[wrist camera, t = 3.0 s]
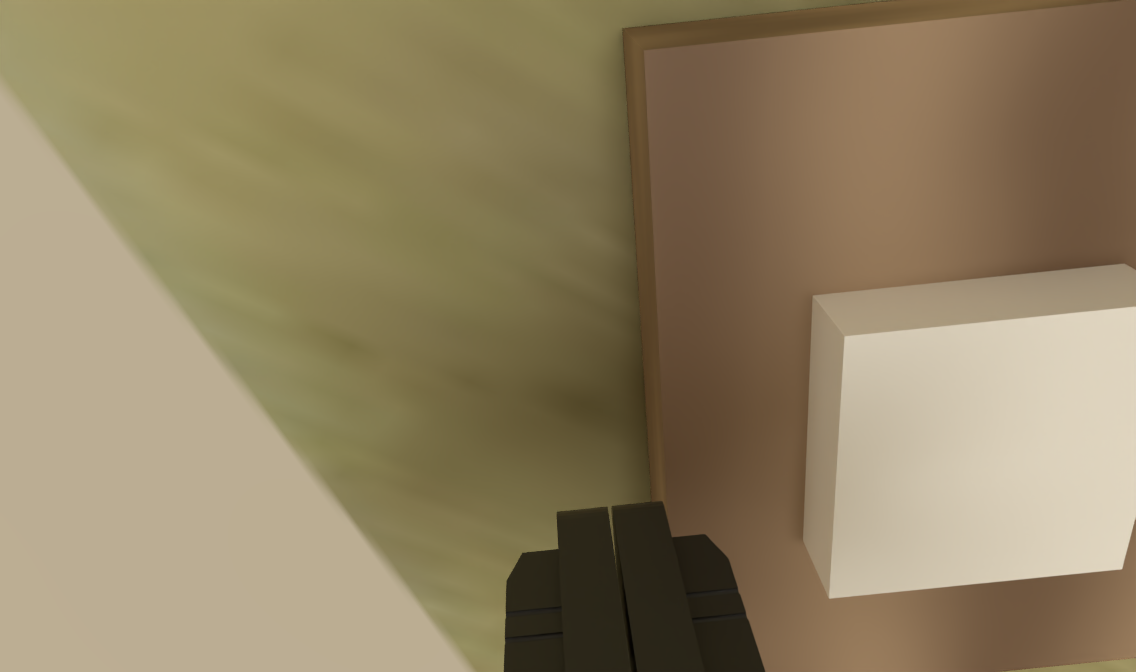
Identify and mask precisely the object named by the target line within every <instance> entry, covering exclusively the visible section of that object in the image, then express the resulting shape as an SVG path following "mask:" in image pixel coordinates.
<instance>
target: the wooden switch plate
mask: <svg viewBox="0 0 1136 672" xmlns="http://www.w3.org/2000/svg"><path fill="white" fill-rule="evenodd" d="M623 45H624V61H625V78H626V94H627V110H628V127H629V143H630V159H631V175H632V192H633V208H634V224H635V241H636V257H637V273H638V290H639V306H640V322H641V339H642V355H643V371H644V387H645V404H646V420H647V436H648V453H649V469H650V485H651V502H655V501H663V504H664V507H665V511H666V515H667V519H668V523H669V527H670V531H671V535H672V537H680V536H689V535H699V534H706V535H707V536H708V537H709V539H710V540H711V541H712V542H713V543H714V544H715V545H716V546H717V547H718V548H719V549H720V550H721V551H722V552H723V553H724V554H725V555H726V556H727V557H728V558H729V561H730V564H731V567H732V571H733V574H734V577H735V580H736V583H737V586H738V591H739V594H740V595H741V598H742V601H743V604H744V607H745V610H746V616H747V619H748V620H749V623H750V626H751V629H752V632H753V635H754V638H755V641H756V644H757V647H758V650H759V653H760V656H761V659H762V663H763V666H764V669H765V672H1000V671H1010V670H1020V669H1030V668H1040V667H1050V666H1060V665H1070V664H1080V663H1090V662H1100V661H1110V660H1120V659H1130V658H1136V520H1135V521H1134V525H1133V529H1132V533H1131V537H1130V541H1129V544H1128V548H1127V552H1126V556H1125V560H1124V564H1123V568H1122V569H1120V570H1110V571H1100V572H1090V573H1080V574H1070V575H1060V576H1050V577H1040V578H1030V579H1020V580H1010V581H1000V582H990V583H980V584H971V585H961V586H951V587H941V588H931V589H921V590H911V591H901V592H891V593H881V594H871V595H861V596H851V597H841V598H831V599H829V598H828V595H827V593H826V591H825V589H824V586H823V584H822V582H821V580H820V577H819V575H818V573H817V571H816V569H815V566H814V564H813V562H812V560H811V557H810V555H809V553H808V551H807V549H806V546H805V544H804V542H803V528H804V502H805V477H806V451H807V426H808V401H809V375H810V350H811V325H812V299H813V295H822V294H832V293H841V292H851V291H861V290H871V289H880V288H890V287H900V286H910V285H920V284H929V283H939V282H949V281H959V280H968V279H978V278H988V277H998V276H1007V275H1017V274H1027V273H1037V272H1046V271H1056V270H1066V269H1076V268H1086V267H1095V266H1105V265H1115V264H1126V265H1128V266H1130V267H1132V268H1133V269H1135V270H1136V0H891V1H882V2H872V3H863V4H853V5H843V6H834V7H824V8H815V9H805V10H795V11H786V12H776V13H767V14H757V15H747V16H738V17H728V18H719V19H709V20H699V21H690V22H680V23H671V24H661V25H651V26H642V27H632V28H623Z"/></svg>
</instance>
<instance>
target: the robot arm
mask: <svg viewBox="0 0 1136 672" xmlns="http://www.w3.org/2000/svg"><path fill="white" fill-rule="evenodd" d="M612 522H613V534H614V545H615V556H614V549H613V542H612V535H611V528H610V521H609V514H608V508H607V507H599V508H590V509H580V510H570V511H560V512H557V530H558V548H559V549H556V550H546V551H536V552H527V553H522V555H521V556H520V558H519V560H518V562H517V564H516V565H515V567H514V569H513V571H512V572H511V574H510V576H509V578H508V580H507V586H506V620H505V654H504V672H765V669H764V666H763V663H762V659H761V656H760V653H759V650H758V647H757V644H756V641H755V638H754V635H753V632H752V629H751V626H750V623H749V620H748V619H747V616H746V610H745V607H744V604H743V601H742V598H741V595H740V594H739V591H738V586H737V583H736V580H735V577H734V574H733V571H732V567H731V564H730V561H729V558H728V557H727V556H726V555H725V554H724V553H723V552H722V551H721V550H720V549H719V548H718V547H717V546H716V545H715V544H714V543H713V542H712V541H711V540H710V539H709V537H708V536H707V535H706V534H699V535H689V536H680V537H672V535H671V531H670V527H669V523H668V519H667V515H666V511H665V507H664V504H663V501H655V502H646V503H636V504H626V505H617V506H612ZM615 557H616V563H615ZM616 569H617V570H616Z"/></svg>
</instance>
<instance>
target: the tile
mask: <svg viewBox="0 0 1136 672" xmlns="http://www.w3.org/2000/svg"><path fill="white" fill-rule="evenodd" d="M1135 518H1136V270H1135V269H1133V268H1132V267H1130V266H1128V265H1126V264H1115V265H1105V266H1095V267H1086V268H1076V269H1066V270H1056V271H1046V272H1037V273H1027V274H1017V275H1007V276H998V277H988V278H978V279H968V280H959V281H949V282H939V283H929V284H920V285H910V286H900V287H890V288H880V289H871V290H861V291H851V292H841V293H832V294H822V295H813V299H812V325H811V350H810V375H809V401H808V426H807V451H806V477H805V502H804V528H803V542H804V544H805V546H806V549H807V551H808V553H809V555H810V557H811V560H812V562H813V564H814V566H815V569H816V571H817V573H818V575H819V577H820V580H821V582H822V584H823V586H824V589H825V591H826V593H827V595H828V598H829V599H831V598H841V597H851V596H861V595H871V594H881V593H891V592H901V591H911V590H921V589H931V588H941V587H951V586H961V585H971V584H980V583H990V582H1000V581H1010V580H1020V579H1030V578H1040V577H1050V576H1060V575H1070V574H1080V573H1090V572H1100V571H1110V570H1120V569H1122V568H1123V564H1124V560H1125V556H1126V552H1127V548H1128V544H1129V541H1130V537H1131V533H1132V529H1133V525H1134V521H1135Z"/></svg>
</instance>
